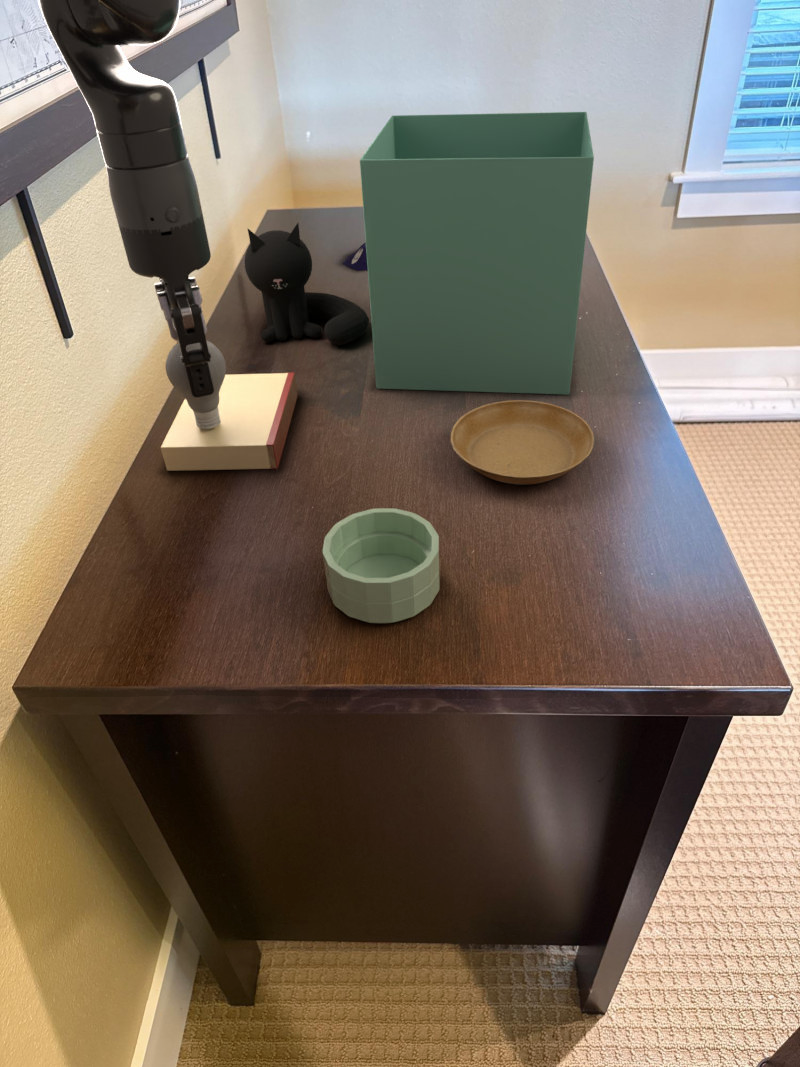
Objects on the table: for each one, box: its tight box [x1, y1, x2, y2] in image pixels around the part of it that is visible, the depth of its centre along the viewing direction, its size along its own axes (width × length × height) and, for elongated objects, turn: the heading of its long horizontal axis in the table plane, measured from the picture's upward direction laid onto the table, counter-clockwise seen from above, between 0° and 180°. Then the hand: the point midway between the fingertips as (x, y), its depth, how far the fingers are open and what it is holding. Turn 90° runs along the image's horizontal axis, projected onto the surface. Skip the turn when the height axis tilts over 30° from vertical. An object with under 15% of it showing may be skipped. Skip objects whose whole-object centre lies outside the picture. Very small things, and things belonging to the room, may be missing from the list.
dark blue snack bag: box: [342, 241, 368, 272], centre depth 130 cm, size 9×15×4 cm, turn 126°
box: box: [359, 111, 595, 396], centre depth 93 cm, size 23×21×26 cm
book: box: [160, 371, 299, 472], centre depth 88 cm, size 16×12×3 cm
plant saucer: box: [450, 399, 595, 486], centre depth 81 cm, size 15×15×3 cm
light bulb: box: [165, 339, 227, 429], centre depth 81 cm, size 6×6×10 cm
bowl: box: [321, 507, 441, 624], centre depth 66 cm, size 10×10×5 cm
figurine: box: [244, 222, 370, 346], centre depth 104 cm, size 16×14×15 cm
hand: (198, 379), depth 80 cm, fingers closed on light bulb, 6 cm apart
